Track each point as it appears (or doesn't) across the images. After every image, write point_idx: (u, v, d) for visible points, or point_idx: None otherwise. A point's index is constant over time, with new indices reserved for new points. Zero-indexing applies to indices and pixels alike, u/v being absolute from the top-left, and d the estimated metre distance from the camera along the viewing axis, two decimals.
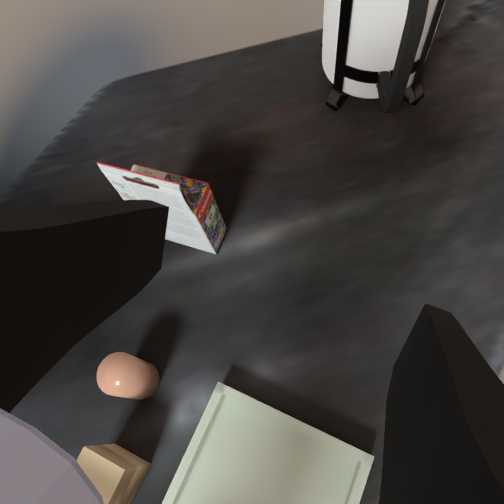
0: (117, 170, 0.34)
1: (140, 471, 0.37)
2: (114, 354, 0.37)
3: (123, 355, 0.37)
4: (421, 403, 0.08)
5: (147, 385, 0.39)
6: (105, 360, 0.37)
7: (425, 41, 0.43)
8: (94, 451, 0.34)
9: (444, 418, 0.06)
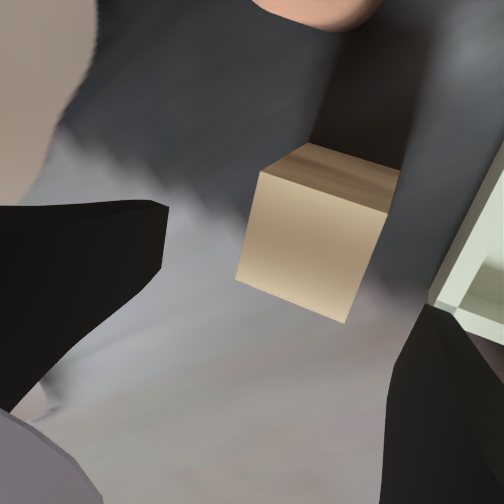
0: None
1: None
2: None
3: None
4: (421, 404, 0.08)
5: None
6: None
7: None
8: (289, 178, 0.13)
9: (444, 418, 0.06)
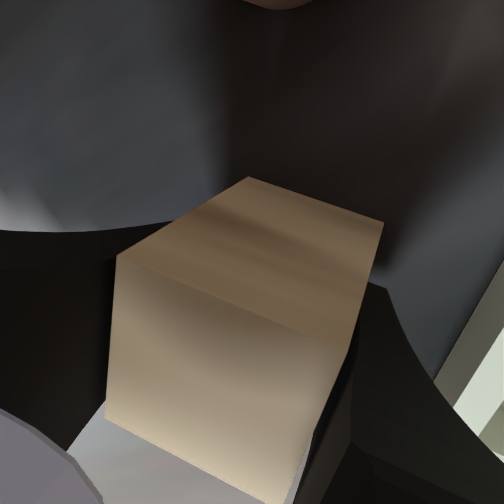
0: None
1: None
2: None
3: None
4: (341, 369, 0.08)
5: None
6: None
7: None
8: (171, 269, 0.07)
9: (347, 376, 0.07)
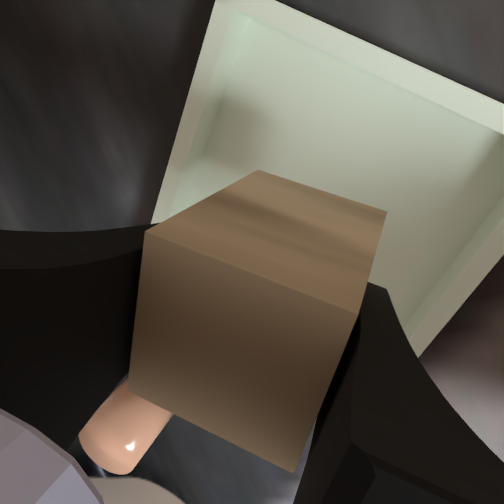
0: None
1: None
2: (83, 446, 0.23)
3: (82, 435, 0.23)
4: (341, 370, 0.08)
5: None
6: (93, 458, 0.23)
7: None
8: (194, 244, 0.08)
9: (347, 376, 0.07)
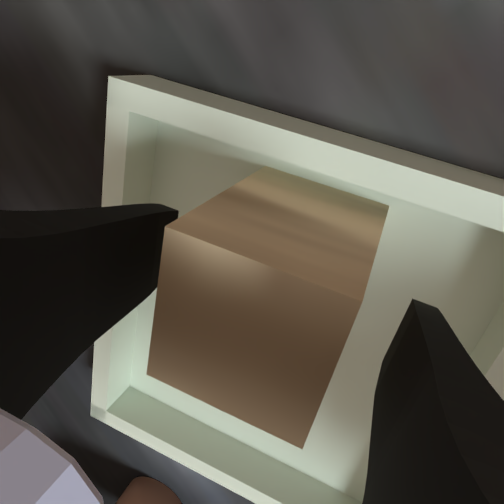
0: None
1: None
2: None
3: None
4: (405, 396, 0.08)
5: None
6: None
7: None
8: (211, 238, 0.08)
9: (424, 409, 0.06)
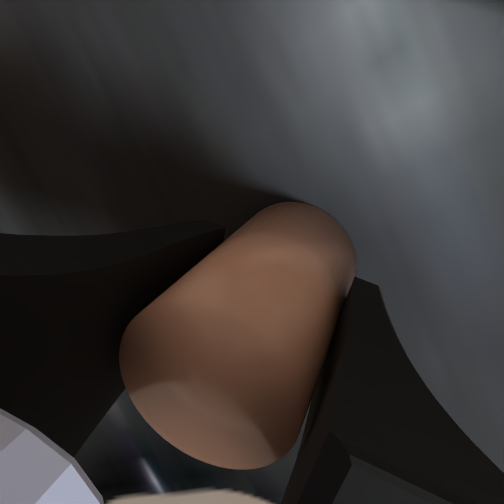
0: None
1: None
2: (135, 396, 0.08)
3: (130, 361, 0.08)
4: (331, 365, 0.08)
5: (287, 242, 0.09)
6: (164, 430, 0.08)
7: None
8: None
9: (335, 371, 0.07)
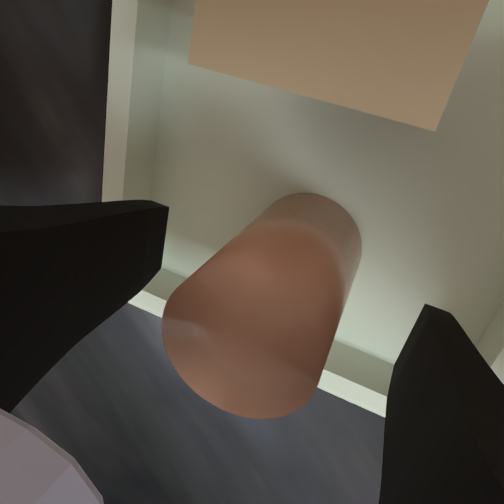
0: None
1: None
2: (173, 355, 0.10)
3: (171, 324, 0.09)
4: (420, 404, 0.08)
5: (306, 227, 0.11)
6: (196, 385, 0.10)
7: None
8: None
9: (444, 418, 0.06)
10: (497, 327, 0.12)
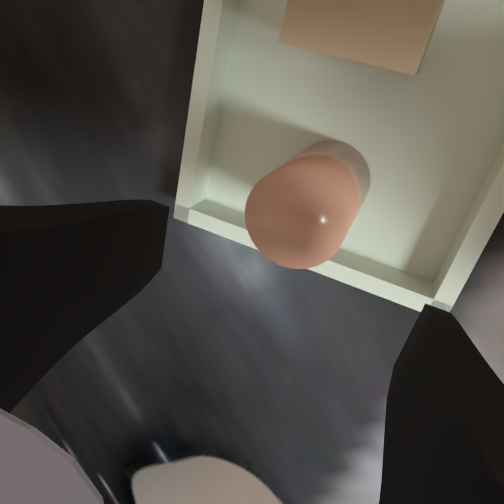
0: None
1: None
2: (250, 229, 0.15)
3: (252, 207, 0.15)
4: (421, 404, 0.08)
5: (334, 155, 0.16)
6: (264, 250, 0.15)
7: None
8: None
9: (444, 418, 0.06)
10: (463, 228, 0.18)
